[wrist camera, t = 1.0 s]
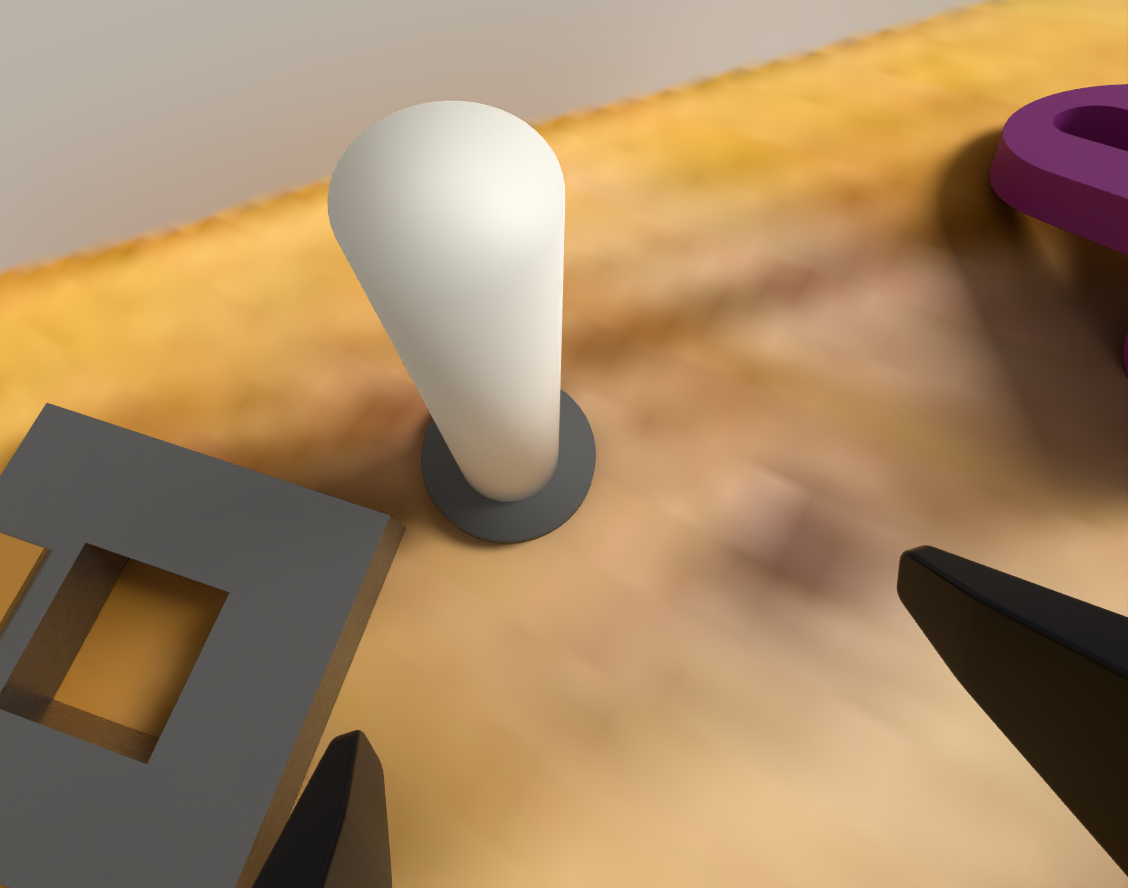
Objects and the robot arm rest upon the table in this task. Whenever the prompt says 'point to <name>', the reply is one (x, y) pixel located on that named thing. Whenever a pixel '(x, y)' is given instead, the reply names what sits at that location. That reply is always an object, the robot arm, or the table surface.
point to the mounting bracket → (1070, 164)
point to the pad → (518, 516)
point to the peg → (465, 277)
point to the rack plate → (219, 677)
